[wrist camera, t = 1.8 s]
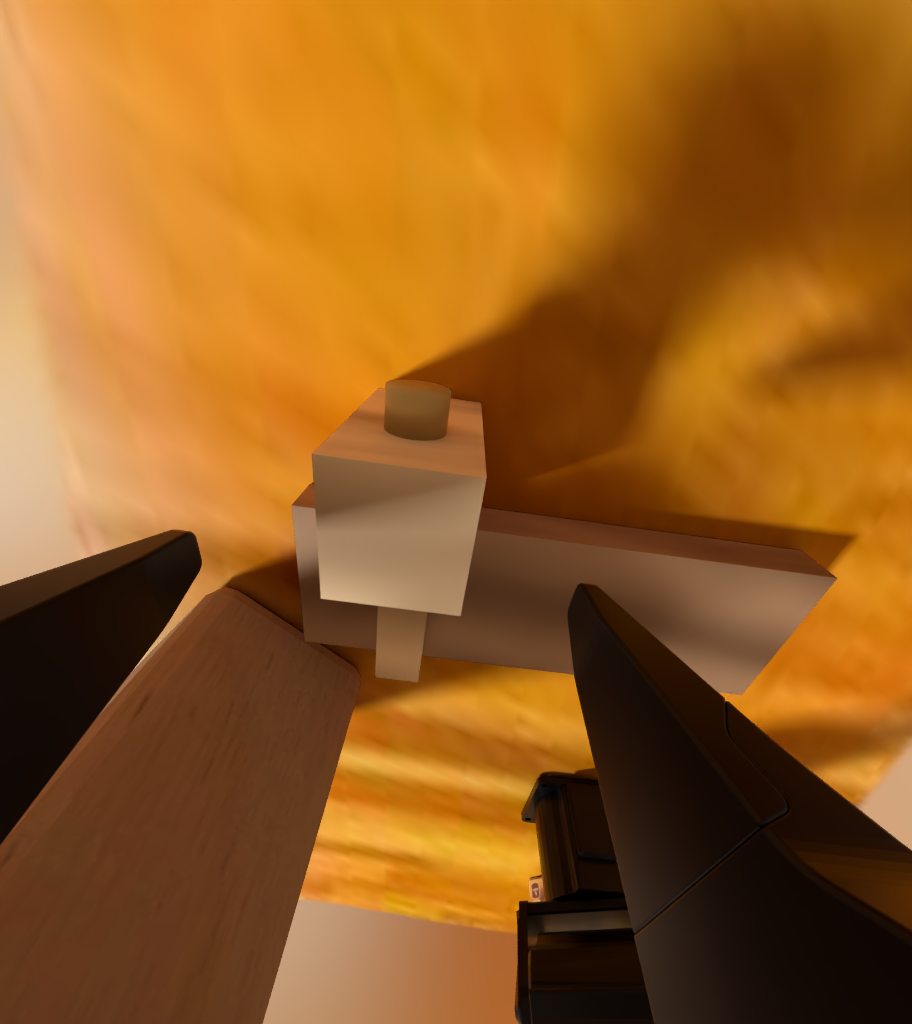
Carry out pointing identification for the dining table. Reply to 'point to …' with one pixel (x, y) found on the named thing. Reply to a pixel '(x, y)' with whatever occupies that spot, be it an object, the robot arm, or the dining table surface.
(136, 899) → the wooden block
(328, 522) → the block
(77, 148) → the dining table surface
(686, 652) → the walnut board
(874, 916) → the robot arm
